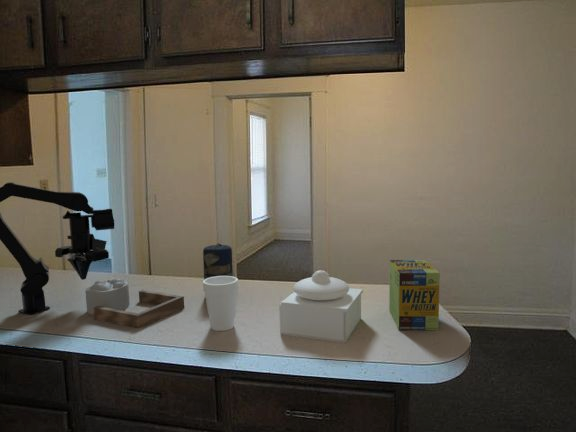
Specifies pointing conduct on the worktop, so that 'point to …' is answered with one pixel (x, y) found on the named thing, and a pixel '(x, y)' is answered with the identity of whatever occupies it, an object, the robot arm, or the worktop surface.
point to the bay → (137, 320)
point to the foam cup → (221, 301)
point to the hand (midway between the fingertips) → (83, 279)
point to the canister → (217, 261)
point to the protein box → (414, 294)
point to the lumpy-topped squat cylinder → (108, 295)
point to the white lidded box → (321, 309)
